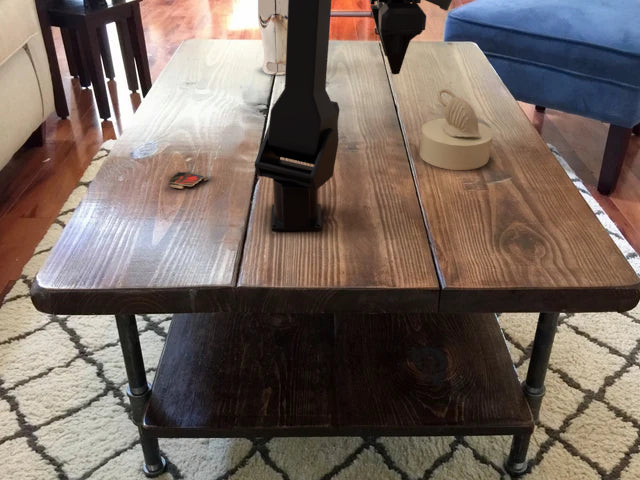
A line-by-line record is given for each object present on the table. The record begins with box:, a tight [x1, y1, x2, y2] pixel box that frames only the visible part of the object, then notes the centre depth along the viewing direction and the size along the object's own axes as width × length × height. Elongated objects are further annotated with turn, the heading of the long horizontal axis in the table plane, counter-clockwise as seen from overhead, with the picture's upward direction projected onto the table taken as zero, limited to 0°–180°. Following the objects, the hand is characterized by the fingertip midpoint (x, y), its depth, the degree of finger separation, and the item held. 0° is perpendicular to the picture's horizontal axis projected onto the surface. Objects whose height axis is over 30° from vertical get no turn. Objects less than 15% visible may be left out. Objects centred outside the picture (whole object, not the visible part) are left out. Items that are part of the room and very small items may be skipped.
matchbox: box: [168, 171, 209, 190], centre depth 93 cm, size 5×5×1 cm
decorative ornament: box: [437, 88, 482, 138], centre depth 98 cm, size 4×8×5 cm, turn 23°
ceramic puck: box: [418, 117, 494, 171], centre depth 101 cm, size 11×11×4 cm
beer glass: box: [257, 0, 288, 76], centre depth 130 cm, size 7×7×15 cm
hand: (391, 64), depth 100 cm, fingers open, 9 cm apart
